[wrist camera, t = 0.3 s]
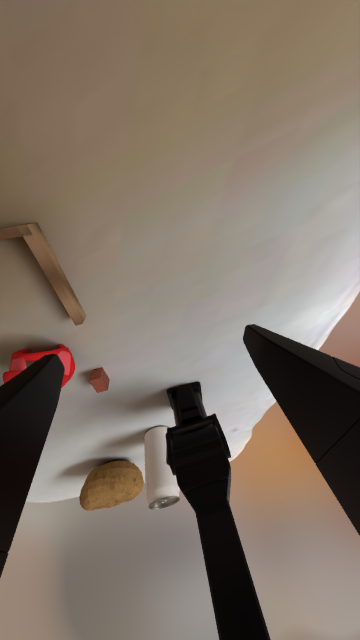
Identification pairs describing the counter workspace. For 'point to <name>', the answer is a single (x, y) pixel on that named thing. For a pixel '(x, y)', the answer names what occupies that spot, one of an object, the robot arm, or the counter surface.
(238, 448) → the counter surface
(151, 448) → the can
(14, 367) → the cap
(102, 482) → the potato
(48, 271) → the bay
